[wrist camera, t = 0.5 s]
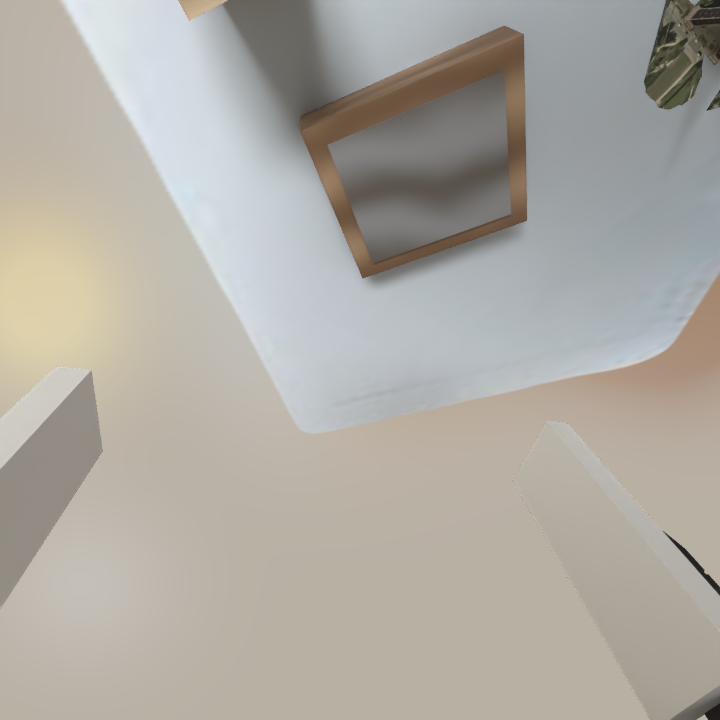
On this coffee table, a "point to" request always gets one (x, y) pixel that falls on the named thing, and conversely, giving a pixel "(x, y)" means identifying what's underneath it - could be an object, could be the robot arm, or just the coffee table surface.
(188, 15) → the oak block
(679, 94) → the eiffel tower figurine
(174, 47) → the coffee table surface
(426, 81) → the walnut frame
